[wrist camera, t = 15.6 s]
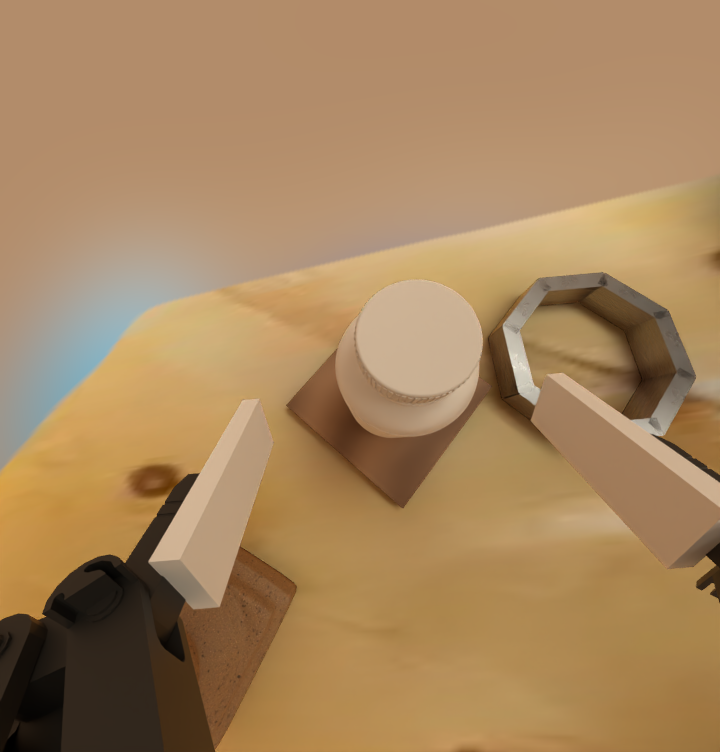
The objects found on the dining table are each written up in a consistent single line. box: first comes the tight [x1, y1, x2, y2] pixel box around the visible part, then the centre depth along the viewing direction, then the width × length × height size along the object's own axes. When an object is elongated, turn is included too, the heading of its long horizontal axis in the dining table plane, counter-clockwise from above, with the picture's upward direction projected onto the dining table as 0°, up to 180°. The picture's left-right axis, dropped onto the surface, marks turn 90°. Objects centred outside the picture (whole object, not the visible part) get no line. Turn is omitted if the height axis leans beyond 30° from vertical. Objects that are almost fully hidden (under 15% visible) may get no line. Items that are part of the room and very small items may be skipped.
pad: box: [286, 348, 492, 508], centre depth 26 cm, size 14×14×1 cm
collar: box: [488, 272, 696, 436], centre depth 26 cm, size 16×16×3 cm
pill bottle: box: [335, 279, 483, 438], centre depth 18 cm, size 8×8×15 cm
